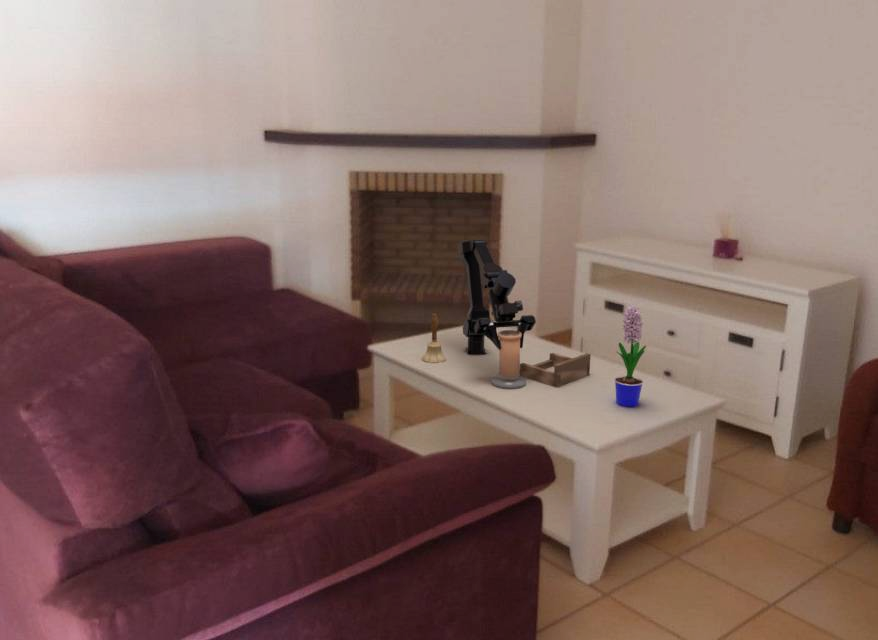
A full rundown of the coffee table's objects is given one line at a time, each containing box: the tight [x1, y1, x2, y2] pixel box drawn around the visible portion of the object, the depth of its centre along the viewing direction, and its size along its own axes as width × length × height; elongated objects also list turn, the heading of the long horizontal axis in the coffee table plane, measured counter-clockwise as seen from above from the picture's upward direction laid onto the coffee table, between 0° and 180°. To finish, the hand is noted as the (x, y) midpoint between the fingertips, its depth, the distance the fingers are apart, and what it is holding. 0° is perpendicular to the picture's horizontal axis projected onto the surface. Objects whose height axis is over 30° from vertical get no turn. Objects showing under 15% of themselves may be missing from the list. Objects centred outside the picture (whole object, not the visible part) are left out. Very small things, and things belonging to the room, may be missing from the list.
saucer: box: [490, 373, 527, 390], centre depth 266 cm, size 11×11×1 cm
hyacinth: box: [614, 305, 647, 408], centre depth 247 cm, size 9×10×30 cm
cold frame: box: [519, 352, 591, 388], centre depth 273 cm, size 15×17×7 cm
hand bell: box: [421, 313, 447, 364], centre depth 286 cm, size 8×8×16 cm
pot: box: [497, 329, 522, 377], centre depth 264 cm, size 7×7×13 cm
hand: (510, 348), depth 262 cm, fingers closed on pot, 7 cm apart
